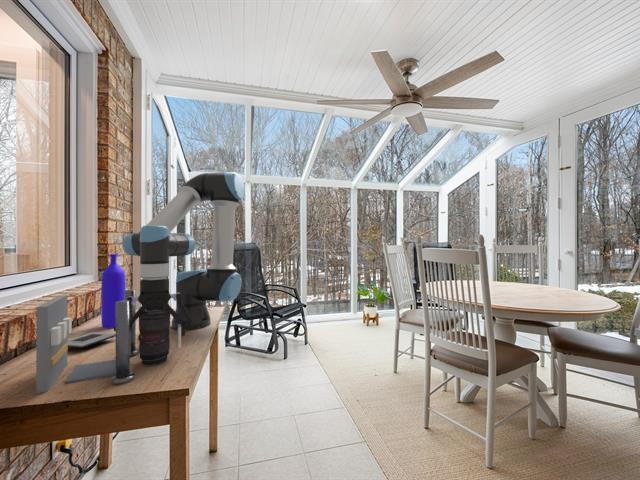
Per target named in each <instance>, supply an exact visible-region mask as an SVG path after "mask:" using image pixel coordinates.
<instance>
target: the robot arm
mask: <svg viewBox="0 0 640 480" xmlns="http://www.w3.org/2000/svg"><path fill="white" fill-rule="evenodd" d="M245 195H246V187H245V184H244V181H243V178H242V177H241V175H240V174H239V173H237V172H235V171H224V172H204V173H200V174H197V175H195V176H193V177H192V178H190V179H189V180H187V181H186V182H185V183H184V184H183V185H181V187H180V188H179V189H178V190H177V194H175V196H174V197H173V198H172V199H171V200H170V201H169V202H168V203H167V204H166V205H165V206H164V207H163V208H162V209H161V210H160V211H159V212H157V214H156V215H155V216H154V217H153V218H152V219H151V220H150V221H148V223H147V224H145V225H143V226H142V227H140V231H138V232H133V233H129V234H127V235H125V236H124V238H123V240H122V248H123V250H124V252H125V253H126V254H127V255H129V256H133V257H134V256H135V257H139V278H141V279H140V281H139V296H136V297H132V296H129V297H128V298H127V300H129V301H130V307H131V305H133V304H135V302H139V303H140V305H141V306H140V307H139V309H138V310H137V311H136V313H135V314H134V315H133V317H132V318H131V319H130V327H131V326H132V324H133V323H134V322H135V321H137V320H139V316H140V315H141V313H143V312H144V311H145V310H149V311H152V310H161V309H162V308H164V309H165V310H166V311H169V313H170V316H172V320H171V328H172V329H174V330H177V346H178V347H177V348H178V349H182V337H185V335H186V331H187V330H195V329H201V328H205V327H207V326H210V325H211V316H210V312H209V310H208V306H207V302H208V301H209V302H221V303H225V302H232V301H234V300H235V299H236V298H238V296H239V294H240V293H241V289H242V284H243V283H242V276H241V274H240V273H238V272H237V267H236V266H235V265H234V250H235V249H234V246H235V224H236V223H235V221H236V208H237V207H239V206H240V201H241V200H244V198H245ZM206 201H210V204H211V205H212V206H213V218H212V219H213V220H212V239H211V240H212V243H211V246H212V247H211V260H210V261H211V264H210V265H209V266H208V267H207V268H206V269H205V268H202V269H193V270H186V271H180V272H178V273H177V274H176V279H175V280H176V281H175V293H170V279H169V278H168V277H169V276H170V257H185V256H190V255H191V254H193V252H194V251H195V249H196V239H195V238H194V237H193V236H192V235H190V234H189V233H184V232H183V233H181V232H177V233H176V232H173V230H174V229H175V228H176V227H177V226H178V224H180V223H181V221H182V220H183V219H184V218H185V217H186V215H187V214H188V213H189V212H190V211H192V209H193V208H194V207H197V206H199V205H200V204H201V203H202V202H206ZM171 299H173V301H175V302H176V303H175V305H176V306H175V307H176V308H175V309H173V308H172V306H171V305H170V304H169V301H170V300H171ZM113 331H114V333H116V326H115V328H113Z"/></svg>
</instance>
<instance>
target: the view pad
mask: <svg viewBox="0 0 640 480" xmlns="http://www.w3.org/2000/svg"><path fill="white" fill-rule="evenodd" d="M114 375H116V359H110V360H105V361H97V362H92V363H83V364H78V365H77V364H76V365H74V367H73V369H72V371H71V372H70V373H69V375H68V377H67V378H66V379H65V381H64V385H66V384H71V383H76V382H82V381H83V382H84V381H89V380H94V379H95V380H96V379H102V378H106V377H113V376H114Z"/></svg>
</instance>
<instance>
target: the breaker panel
mask: <svg viewBox="0 0 640 480" xmlns="http://www.w3.org/2000/svg"><path fill="white" fill-rule="evenodd" d="M35 312H36V317H35V318H36V319H35V320H36V323H35V324H36V325H35V327H36V331H35V332H36V342H35V343H36V344H35V345H36V349H35V350H36V352H35V353H36V361H35V363H36V366H35V367H36V370H35V371H36V373H35V375H36V376H35V377H36V379H35V381H36V383H35V384H36V386H35V388H36V389H35V391H36V393H37V394H41V392H42V393H47V391H48V392H49V390H50V389H51V388H52V386H53V385H54V384H55V382H56V381H57V380H58V379H59V377H60V376H61V374H62V373H63V372H64V370H65V369H66V368H67V367H68V349H69V347H68V343H67V340H68V335H70V334H71V333H72V331H73V329H72V327H73V326H72V323H73V321H72V317H68V294H66V295H64V294H63V295H62V294H61V295H57V296H55V297H53V298H51V299H49V300H47V301H46V302H44V303H42V304H39V305H38V306H36V311H35Z"/></svg>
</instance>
